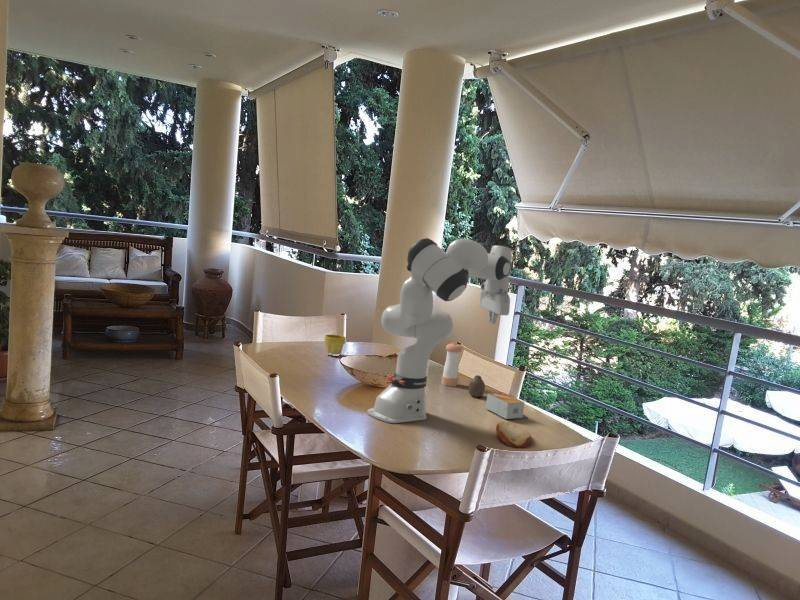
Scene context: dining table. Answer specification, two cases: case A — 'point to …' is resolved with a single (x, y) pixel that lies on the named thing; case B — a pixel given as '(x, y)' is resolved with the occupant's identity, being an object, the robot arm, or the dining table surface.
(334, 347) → the plant pot
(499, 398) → the small box
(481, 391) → the avocado
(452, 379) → the pepper shaker
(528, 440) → the bread slice
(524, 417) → the mat
